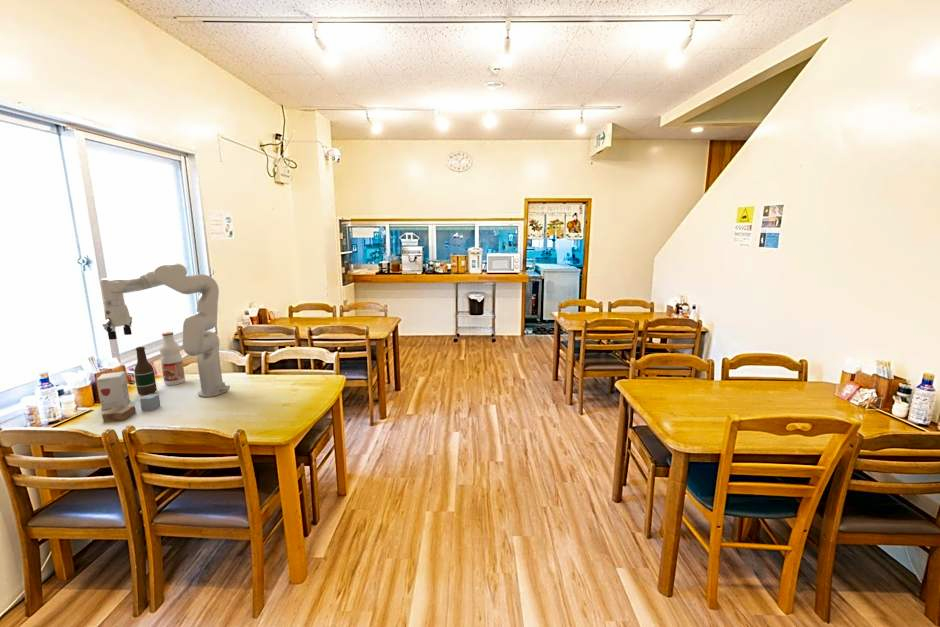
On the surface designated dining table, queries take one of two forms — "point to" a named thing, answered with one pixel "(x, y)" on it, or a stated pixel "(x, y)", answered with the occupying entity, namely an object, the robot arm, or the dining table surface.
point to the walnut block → (119, 414)
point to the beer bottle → (144, 374)
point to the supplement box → (113, 390)
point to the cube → (150, 402)
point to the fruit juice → (171, 360)
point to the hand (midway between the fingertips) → (120, 336)
